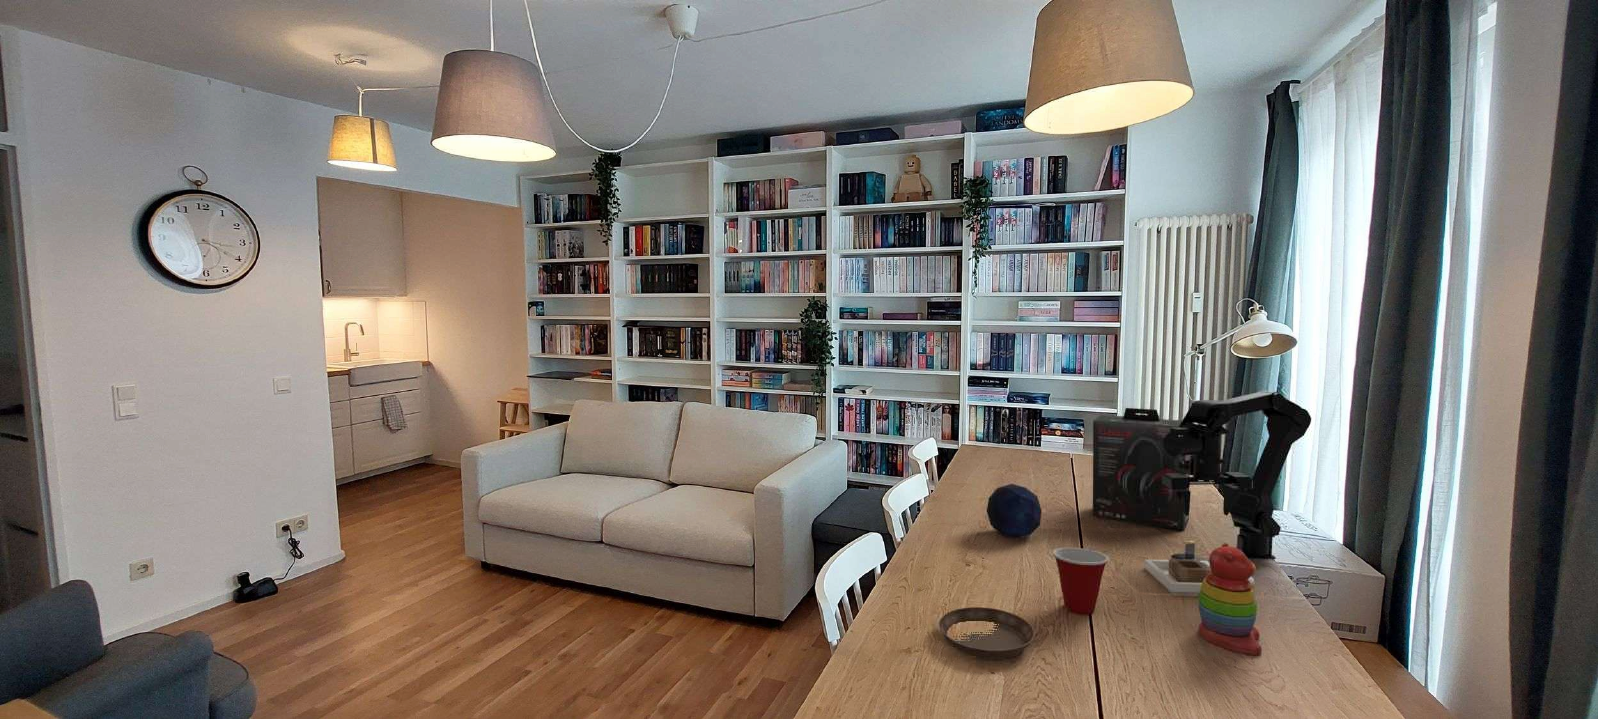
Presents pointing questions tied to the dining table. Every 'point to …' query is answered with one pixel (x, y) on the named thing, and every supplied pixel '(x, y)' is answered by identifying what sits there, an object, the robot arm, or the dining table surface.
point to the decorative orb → (1014, 511)
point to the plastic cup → (1080, 577)
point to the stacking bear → (1229, 602)
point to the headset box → (1135, 470)
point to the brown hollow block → (1188, 570)
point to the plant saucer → (1000, 644)
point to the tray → (1162, 575)
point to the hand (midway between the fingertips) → (1206, 515)
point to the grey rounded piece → (1188, 552)
